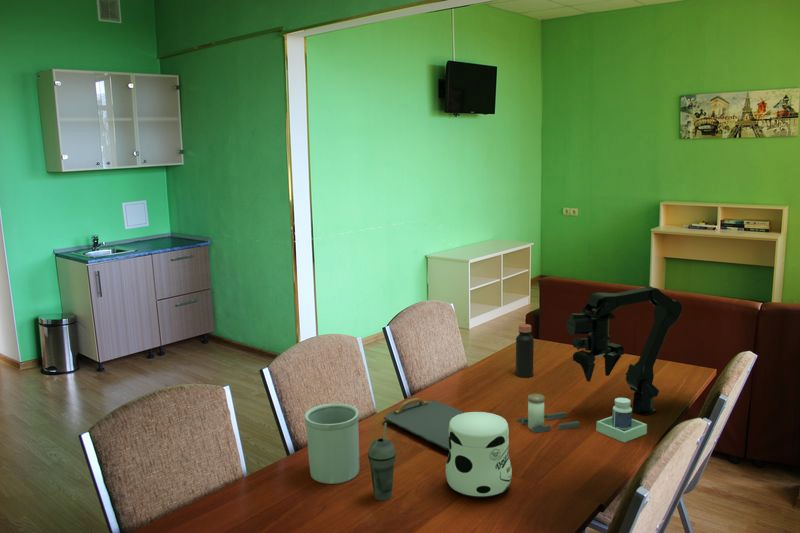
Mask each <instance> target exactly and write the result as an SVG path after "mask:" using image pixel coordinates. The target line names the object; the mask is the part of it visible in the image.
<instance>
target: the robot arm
mask: <svg viewBox="0 0 800 533" xmlns="http://www.w3.org/2000/svg"><path fill="white" fill-rule="evenodd" d="M644 302H649V303H651V304H652V305H653V306H654V309H653V320H654V321H653V322H654V323H653V324H652V327H651V329H650V332H649V334H648V337H647V340H646V342H645V345H644V346H643V349H642V351H641V354H640V355H639V356H640V357H639V359H638V360H637V362H636V363H634V364H632V363H630V364H629V366H628V369H627V371H626V373H625V374H624V375H625V382H626V384H627V385H628V386H629V388H630V390H631V391H633V392H634V393H633V399H632V406H630V407H631V408H632V412H635V413H637V414H640V415H643V416H647V415H650V414H652V413H656V412H657V408H654V398H656V397H658V395H659V393H660V390H659V389H658V388H657V386H655V385H654V384H653V382H654V377H655V376H654V365H655V364H656V361H657V359H658V356H659V354H660V352H661V349H662V347H663V344H664V341H665V339H666V336H667V335H668V332H669V330H670V328H671V327H672V326H673V325H674V324H675V323H676V322H677V321H678V320H679V318H680V317H681V315H682V313H683V306H682V304H681V303H680V302H679V301H677V300H674V299H673V298H671V297H669V296H668V295H667V294H665V293H663V292H662V291H661V290H660V289H659V288H656V287H654V286H651V285H648V286H645V287H641V288H635V289H629V290H625V291H620V292H614V293H612V292H593V293H591V295H590V297H589V299H588V301H587V302H586V304H585V305H584V307H583V308H582V309H581V312H580V313H575V312H574V313H573V312H572V313H570V316H569V318H567V319H568V320H567V321H566V329H567V333H568V334H569V335H570V336H577V335H586V337H585V338H581V337H580V336H578V337H574V338H572V346H573V348H575V349H576V350H577V351H575V352H574V353H573V354H572V361H573V362H575V363H577V364H579V365H580V366H581V368H582V371H583V374H584V377H585V380H586V382H588V383H590V382H591V380H592V376H593V373H594V370H595V367H596V366H595V365H596V363H595V361H596V358H597V357H601V356H602V357H603V358H604V373H605V376H607V377H609V376H610V375H611V373H612V371H613V370H614V368H615V366H616V364H617V363H618V361H619V360H620V358H622V356H623V355H625V348H624V347H623V345H621V344H617V343H613V342H609V340H612V335H610V334H609V332H610V331H609V330H610V320H615V319H616V316H615V315H614V314H613V313H612V312H615V311H616V310H618V309H619V308H621V307H624V306H629V305H633V304H638V303H644ZM582 349H585V350H582Z"/></svg>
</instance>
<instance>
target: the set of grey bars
mask: <svg viewBox="0 0 800 533" xmlns="http://www.w3.org/2000/svg"><path fill="white" fill-rule="evenodd" d="M564 417H565V418H567V412H565V411H563V412H562V411H559V412H553V413H547V414H544V419H545V420H547V421H552V420H557V419H558V420H559V419H565V418H564ZM515 421H516V422H517V423H518V422H521V424H522V425H528V416H527V417H521V418H516V419H515ZM580 423H581V422H580V421H579V420H576V421H575V420H574V421H570V422H563V423H558V424H557V426H558V430H567V429H572V428H578V427H579V428H580ZM551 428H552V426H551V424H544V426H538V427H532V429H531V433H533V434H537V433H543V432H550V431H552V430H551Z"/></svg>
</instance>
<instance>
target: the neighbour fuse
mask: <svg viewBox="0 0 800 533" xmlns="http://www.w3.org/2000/svg"><path fill="white" fill-rule="evenodd" d="M545 399H546V398H545V395H544V394H541V393H531V394H530V393H529V394H528V395H527V409H528V410H527V417H528V424H527V427H528V428H529V429H530V430H532V427H538V426H544V425H545V418H544V415H545Z"/></svg>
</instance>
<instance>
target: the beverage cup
mask: <svg viewBox="0 0 800 533" xmlns="http://www.w3.org/2000/svg"><path fill="white" fill-rule="evenodd" d="M387 425H388V423H387V422H384V426H383V436H382V438H377V439H374V440H373V441H372V442H371V444H370V445H369V448H368V453H367V457H368V461H369V462H368V463H369V465H370V473H371V483H372V489H373V495H374V496H373V497H374V499H376V500H378V501H388V500H390V499H391V498H392V497H393V496H392V493H393V483H394V468H395V461H396V456H397V453H396V449H395V446H394V444H393V443H392V442H391V441H390V440H389V439H387V438H386V434H387V433H386V432H387Z"/></svg>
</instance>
